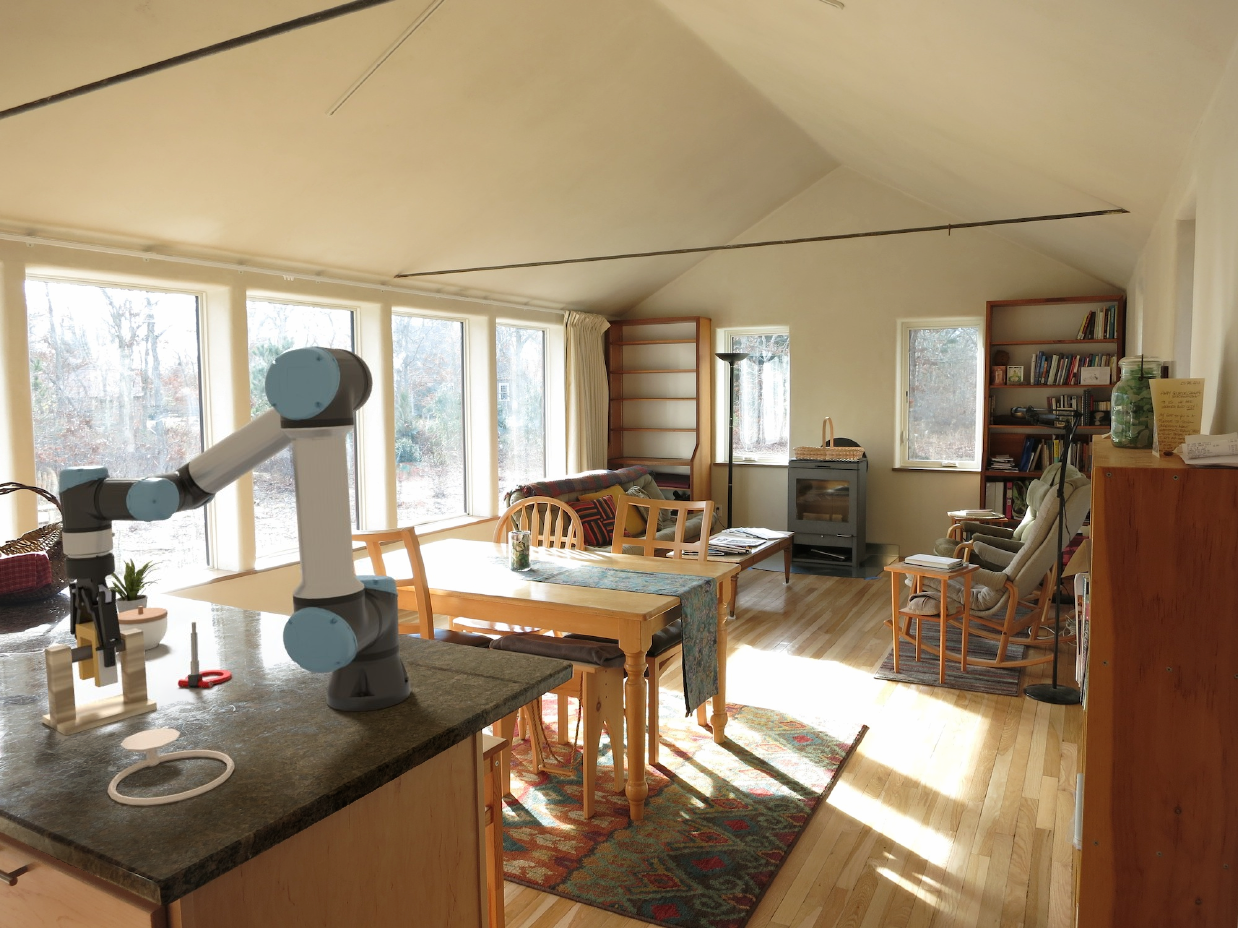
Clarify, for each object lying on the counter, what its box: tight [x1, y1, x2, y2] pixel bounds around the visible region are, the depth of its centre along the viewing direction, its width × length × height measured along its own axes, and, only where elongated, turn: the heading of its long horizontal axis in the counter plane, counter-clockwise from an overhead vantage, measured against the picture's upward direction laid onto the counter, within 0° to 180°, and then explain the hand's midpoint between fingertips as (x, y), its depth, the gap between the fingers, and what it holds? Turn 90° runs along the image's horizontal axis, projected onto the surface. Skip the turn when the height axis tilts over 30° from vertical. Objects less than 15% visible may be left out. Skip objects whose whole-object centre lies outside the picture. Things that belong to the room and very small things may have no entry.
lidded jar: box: [118, 606, 168, 651], centre depth 199 cm, size 11×11×9 cm
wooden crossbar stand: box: [41, 628, 158, 736], centre depth 156 cm, size 10×15×14 cm, turn 142°
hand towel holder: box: [107, 727, 235, 806], centre depth 132 cm, size 17×4×21 cm
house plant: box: [108, 558, 163, 614], centre depth 219 cm, size 14×14×16 cm
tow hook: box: [177, 621, 232, 689], centre depth 175 cm, size 8×13×9 cm
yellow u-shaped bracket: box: [76, 622, 102, 688], centre depth 156 cm, size 8×3×10 cm, turn 52°
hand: (98, 679), depth 156 cm, fingers closed on yellow u-shaped bracket, 8 cm apart
